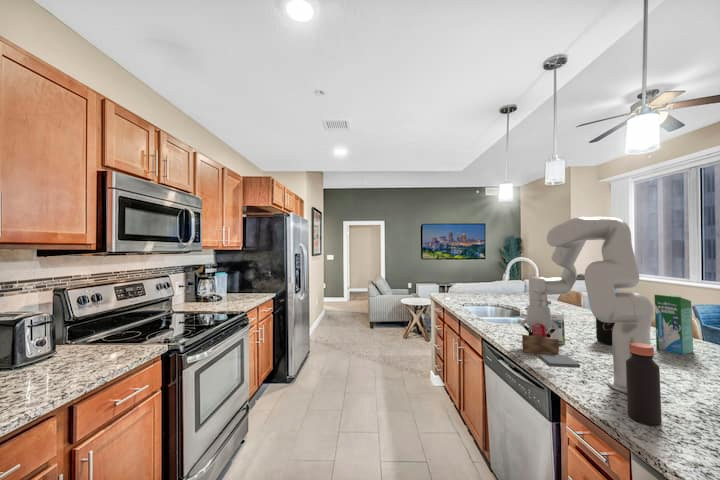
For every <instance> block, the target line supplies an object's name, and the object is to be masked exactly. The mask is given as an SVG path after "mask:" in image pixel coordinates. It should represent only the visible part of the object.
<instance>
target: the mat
mask: <svg viewBox="0 0 720 480" xmlns="http://www.w3.org/2000/svg"><path fill="white" fill-rule="evenodd" d="M537 356H538V357H539V358H540V359H541V360H542V361H543V362H545V363H546V364H547V365H548V366H549V367H569V368H571V367H573V368H574V367H575V368H580V367H581V364H580V363H579V362H577V361H575V360H574V359H573V358H571V357H570V356H569V355H567V354H559V355H552V354H537Z"/></svg>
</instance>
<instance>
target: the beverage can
mask: <svg viewBox="0 0 720 480" xmlns="http://www.w3.org/2000/svg"><path fill="white" fill-rule="evenodd" d="M531 332H532V336H539V337H547V330H546V328H545V326H543V325H542V323H537V324H535V325H534V326H533V327H532V330H531Z"/></svg>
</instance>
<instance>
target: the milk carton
mask: <svg viewBox="0 0 720 480" xmlns="http://www.w3.org/2000/svg"><path fill="white" fill-rule="evenodd" d="M653 296H654V316H655V317H654V318H655V319H654V320H655V340H656V341H655V345H656V347H655V348H656V349H657V350H660V351H665V352H668V353H673V354H676V355H677V354H678V355H687V354H691V353H694V339H693V336H694V334H693V315H692V314H693V312H692V300H689V299H686V298H685V297H684V298H683V297H682V296H680V295H676V294H668V295H664V294H663V295H662V294H654V295H653Z"/></svg>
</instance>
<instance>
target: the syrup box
mask: <svg viewBox="0 0 720 480" xmlns="http://www.w3.org/2000/svg"><path fill="white" fill-rule="evenodd" d="M550 312H551V311H550ZM551 320H552V321H553V322H554V323H555V324H556V325H557V326H558V327H559V328H558V329H557V330H555V331H554V332H553V333H552V334H551V338H558V341H559V345H566V336H565V332H566V331H565V330H566V329H565V314H564V313H563V312H551ZM553 327H554V326H553V325H552V327H551V328H549V329H550V330H551V329H552V328H553Z"/></svg>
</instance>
